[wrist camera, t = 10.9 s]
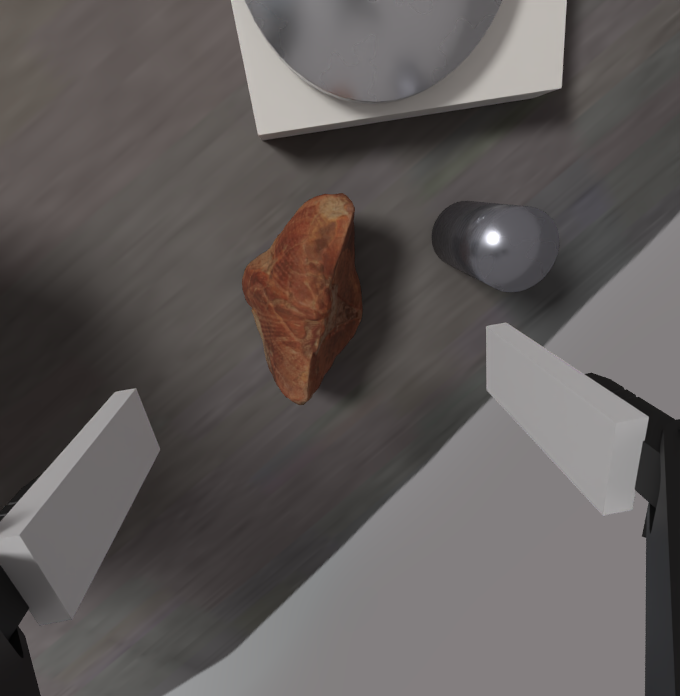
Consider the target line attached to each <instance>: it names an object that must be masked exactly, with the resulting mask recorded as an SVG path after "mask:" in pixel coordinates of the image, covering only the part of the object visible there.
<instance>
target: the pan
mask: <svg viewBox="0 0 680 696" xmlns="http://www.w3.org/2000/svg"><path fill="white" fill-rule="evenodd" d="M245 3H246V5H247V7H248V10H249V12H250V14H251V16H252V18H253V20H254V22H255V24H256V26H257V27H258V29H259V31H260V32H261V34H262V35H263V37H264V39H265V40H266V42H267V43H268V45H269V46H270V47H271V48H272V50H273V51H274V52H275V53H276V55H277V56H278V57H279V59H280V60H281V61H282V62H283V63H284V64H285V65H286V66H287V67H288V68H289V69H290V70H291V71H292V72H293V73H295V74H296V75H297V76H299V77H300V78H301V79H303V80H304V81H305V82H306V83H308V84H309V85H311V86H313V87H315V88H316V89H318V90H320V91H322V92H323V93H326V94H328V95H331V96H333V97H336V98H338V99H341V100H346V101H350V102H354V103H363V104H381V103H391V102H395V101H399V100H403V99H406V98H409V97H411V96H414V95H417V94H419V93H421V92H423V91H425V90H426V89H428V88H430V87H432V86H433V85H435V84H437V83H438V82H439V81H441V80H442V79H443V78H445V77H446V76H447V75H448V74H450V73H451V72H452V71H454V70H455V69H456V68H457V67H458V66H459V65H460V64H461V63H462V62H463V61H464V60H465V59H466V58H467V57H468V56H469V55H470V53H471V52H472V51H473V50H474V48H475V47H476V46H477V45H478V43H479V42H480V41H481V39H482V38H483V36H484V35H485V33H486V31H487V30H488V28H489V27H490V25H491V23H492V21H493V19H494V17H495V15H496V13H497V11H498V9H499V7H500V5H501V3H502V0H245Z"/></svg>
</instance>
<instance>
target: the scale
mask: <svg viewBox="0 0 680 696" xmlns="http://www.w3.org/2000/svg"><path fill="white" fill-rule="evenodd" d="M231 3H232V8H233V13H234V18H235V23H236V28H237V32H238V37H239V42H240V47H241V52H242V57H243V62H244V67H245V72H246V77H247V82H248V87H249V92H250V97H251V102H252V107H253V112H254V117H255V122H256V126H257V131H258V135H259V137H260V138H261V140H269V139H275V138H282V137H288V136H294V135H301V134H307V133H314V132H320V131H327V130H333V129H339V128H346V127H352V126H359V125H365V124H371V123H378V122H384V121H391V120H397V119H403V118H410V117H416V116H423V115H429V114H435V113H442V112H448V111H455V110H461V109H468V108H474V107H480V106H487V105H493V104H500V103H506V102H512V101H519V100H525V99H532V98H536V97H538V96H541V95H544V94H546V93H549V92H552V91H555V90H557V89H560V88H562V73H563V56H564V39H565V22H566V5H567V0H502V3H501V5H500V7H499V9H498V11H497V13H496V15H495V17H494V19H493V21H492V23H491V25H490V27H489V28H488V30H487V31H486V33H485V35H484V36H483V38H482V39H481V41H480V42H479V43H478V45H477V46H476V47H475V48H474V50H473V51H472V52H471V53H470V55H469V56H468V57H467V58H466V59H465V60H464V61H463V62H462V63H461V64H460V65H459V66H458V67H457V68H456V69H455V70H454V71H452V72H451V73H450V74H448V75H447V76H446V77H445V78H443V79H442V80H441V81H439V82H438V83H437V84H435V85H433V86H432V87H430V88H428V89H426V90H425V91H423V92H421V93H419V94H417V95H414V96H411V97H409V98H406V99H403V100H399V101H395V102H391V103H381V104H363V103H354V102H350V101H346V100H341V99H338V98H336V97H333V96H331V95H328V94H326V93H323V92H322V91H320V90H318V89H316V88H315V87H313V86H311V85H309V84H308V83H306V82H305V81H304V80H303V79H301V78H300V77H299V76H297V75H296V74H295V73H293V72H292V71H291V70H290V69H289V68H288V67H287V66H286V65H285V64H284V63H283V62H282V61H281V60H280V59H279V57H278V56H277V55H276V53H275V52H274V51H273V50H272V48H271V47H270V46H269V45H268V43H267V42H266V40H265V39H264V37H263V35H262V34H261V32H260V31H259V29H258V27H257V26H256V24H255V22H254V20H253V18H252V16H251V14H250V12H249V10H248V7H247V5H246V3H245V0H231Z"/></svg>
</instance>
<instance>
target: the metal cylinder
mask: <svg viewBox="0 0 680 696" xmlns="http://www.w3.org/2000/svg"><path fill="white" fill-rule="evenodd" d="M432 245H433V248H434V251H435V253H436V254H437V256H438V257H439V258H440V259H441V260H442V261H444V262H445V263H447V264H449V265H451V266H453V267H455V268H457V269H459V270H461V271H463V272H464V273H466V274H468V275H470V276H472V277H474V278H476V279H478V280H480V281H482V282H484V283H486V284H488V285H489V286H491V287H493V288H495V289H497V290H500V291H504V292H518V291H523V290H525V289H528V288H530V287H532V286H534V285H535V284H537V283H538V282H539V281H540V280H542V279H543V278H544V277H545V276H546V274H547V273H548V272H549V271H550V269H551V268H552V266H553V264H554V262H555V260H556V257H557V254H558V250H559V233H558V229H557V227H556V224H555V222H554V221H553V219H552V218H551V217H550V216H549V215H548V214H547V213H546V212H544V211H542V210H540V209H538V208H534V207H528V206H517V205H507V204H496V203H485V202H474V201H460V202H457V203H454V204H452V205H450V206H449V207H447V208H446V209H445V210H444V211H443V212H442V213H441V214H440V215H439V217H438V218H437V220H436V222H435V224H434V227H433V230H432Z"/></svg>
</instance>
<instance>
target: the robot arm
mask: <svg viewBox="0 0 680 696" xmlns="http://www.w3.org/2000/svg"><path fill="white" fill-rule="evenodd" d="M486 368H487V391H488V392H489V393H490V394H491V395H492V396H493V397H494V399H495V400H496V401H497V402H498V403H499V404H500V405H501V406H502V407H503V408H504V409H505V410H506V412H507V413H508V414H509V415H510V416H511V417H512V418H513V419H514V420H515V421H516V422H517V423H518V425H519V426H520V427H521V428H522V429H523V430H524V431H525V432H526V433H527V434H528V435H529V436H530V437H531V439H532V440H533V441H534V442H535V443H536V444H537V445H538V446H539V447H540V448H541V449H542V450H543V452H544V453H545V454H546V455H547V456H548V457H549V458H550V459H551V460H552V461H553V462H554V463H555V464H556V466H557V467H558V468H559V469H560V470H561V471H562V472H563V473H564V474H565V475H566V476H567V477H568V479H569V480H570V481H571V482H572V483H573V484H574V485H575V486H576V487H577V488H578V489H579V491H580V492H581V493H582V494H583V495H584V496H585V497H586V498H587V499H588V500H589V501H590V502H591V504H593V506H594V507H595V508H596V509H597V510H598V511H599V512H600V513H601V514H602V515H603V516H604V515H610V514H615V513H619V512H625V511H630V510H632V509H633V503H634V498H635V492H636V491H637V492H638V493H639V494H640V495H642V496H643V497H644V498H645V499H646V500H647V501H648V502H649V504H648V509H647V514H646V519H645V524H644V529H643V534H642V536H643V537H646V655H645V658H646V659H645V660H646V661H645V662H646V663H645V666H646V667H645V696H680V419H679V420H675V419H673V418H672V417H670V416H669V415H667V414H665V413H664V412H662V411H661V410H659V409H657V408H656V407H654V406H652V405H651V404H649V403H648V402H646V401H644V400H643V399H641V398H640V397H636V395H635V394H633V393H632V392H630V391H628V390H624V388H623V387H622V386H620V385H619V384H617V383H615V382H614V381H612V380H611V379H608V378H605V377H602V376H599V375H596V374H593V373H588V374H583V373H582V372H580V371H579V370H577V369H576V368H574V367H573V366H571V365H569V364H568V363H567V362H565V361H563V360H562V359H560V358H559V357H557V356H556V355H554V354H553V353H551V352H550V351H548V350H546V349H545V348H544V347H542V346H541V345H539V344H538V343H536V342H535V341H533V340H532V339H530V338H529V337H527V336H526V335H524V334H522V333H521V332H519V331H518V330H516V329H515V328H513V327H512V326H510V325H509V324H507V323H501V324H495V325H490V326H486ZM159 451H160V447H159V445H158V442H157V440H156V437H155V435H154V432H153V430H152V427H151V425H150V422H149V419H148V417H147V414H146V412H145V409H144V407H143V404H142V402H141V399H140V397H139V394H138V392H137V389H136V388H134V389H128V390H123V391H117V392H114V394H113V395H112V396H111V397H110V398H109V399H108V400H107V402H106V403H105V404H104V405H103V406H102V407H101V408H100V409H99V411H98V412H97V413H96V414H95V415H94V416H93V417H92V418H91V420H90V421H89V422H88V423H87V424H86V425H85V426H84V428H83V429H82V430H81V431H80V432H79V433H78V434H77V435H76V437H75V438H74V439H73V440H72V441H71V442H70V443H69V445H68V446H67V447H66V448H65V449H64V450H63V451H62V452H61V454H60V455H59V456H58V457H57V458H56V459H55V460H54V461H53V463H52V464H51V465H50V466H49V467H48V468H47V469H46V471H45V472H44V473H43V474H42V475H39V476H38V477H36V478H35V479H34V480H32V481H31V482H30V483H28V484H27V485H26V486H24V487H23V488H22V489H21V490H20V491H19V492H18V493H17V494H16V495H15V496H14V497H13V498H12V500H11V501H10V502H9V505H7V506H5V507H4V508H3V509H2V511H1V512H0V696H41V695H40V691H39V688H38V684H37V680H36V676H35V672H34V669H33V665H32V661H31V657H30V653H29V649H28V646H27V642H26V638H25V635H24V634H23V632H22V631H21V629H20V628H19V627H18V625H19V623H20V622H21V620H22V619H23V617H24V616H25V614H26V612H27V611H28V609H29V611H30V612H31V614H32V615H33V617H34V618H35V620H36V621H37V623H38V624H39V626H42V625H47V624H52V623H57V622H62V621H67V620H72V619H73V617H74V615H75V613H76V611H77V609H78V608H79V606H80V604H81V602H82V600H83V598H84V596H85V594H86V592H87V590H88V588H89V586H90V584H91V582H92V581H93V579H94V577H95V575H96V573H97V571H98V569H99V567H100V565H101V563H102V561H103V559H104V557H105V555H106V554H107V552H108V550H109V548H110V546H111V544H112V542H113V540H114V538H115V536H116V534H117V532H118V530H119V528H120V527H121V525H122V523H123V521H124V519H125V517H126V515H127V513H128V511H129V509H130V507H131V505H132V503H133V501H134V500H135V498H136V496H137V494H138V492H139V490H140V488H141V486H142V484H143V482H144V480H145V478H146V476H147V474H148V473H149V471H150V469H151V467H152V465H153V463H154V461H155V459H156V457H157V455H158V453H159Z"/></svg>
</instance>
